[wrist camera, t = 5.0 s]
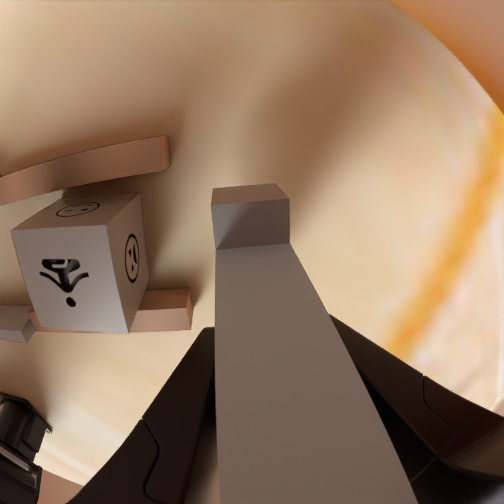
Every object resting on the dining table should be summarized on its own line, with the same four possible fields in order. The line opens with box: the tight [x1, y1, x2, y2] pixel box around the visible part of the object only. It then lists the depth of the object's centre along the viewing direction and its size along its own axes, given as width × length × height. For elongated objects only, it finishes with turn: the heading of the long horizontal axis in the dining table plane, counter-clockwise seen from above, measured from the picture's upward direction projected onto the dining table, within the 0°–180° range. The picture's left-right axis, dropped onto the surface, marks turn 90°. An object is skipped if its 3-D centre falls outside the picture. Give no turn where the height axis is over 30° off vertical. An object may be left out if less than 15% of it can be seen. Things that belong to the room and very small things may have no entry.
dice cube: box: [11, 193, 150, 334], centre depth 12 cm, size 5×5×5 cm
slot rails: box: [0, 135, 193, 333], centre depth 14 cm, size 11×10×2 cm
